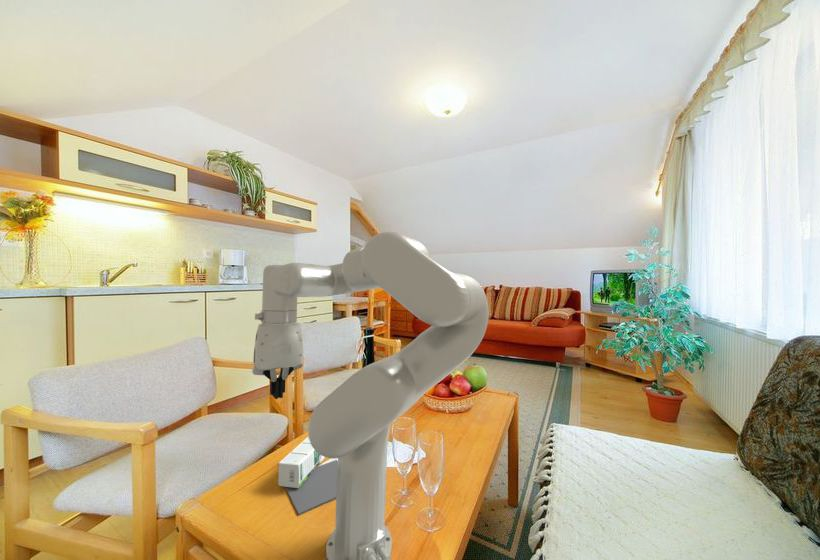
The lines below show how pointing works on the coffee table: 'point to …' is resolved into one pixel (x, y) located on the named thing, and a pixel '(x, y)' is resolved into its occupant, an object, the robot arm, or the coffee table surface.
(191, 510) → the coffee table surface
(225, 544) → the coffee table surface
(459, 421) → the coffee table surface
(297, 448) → the syrup box
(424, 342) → the robot arm
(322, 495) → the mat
